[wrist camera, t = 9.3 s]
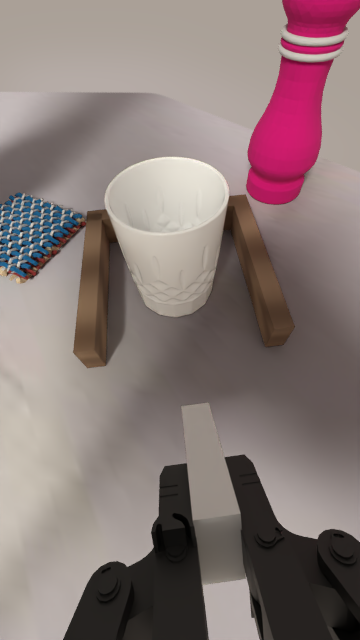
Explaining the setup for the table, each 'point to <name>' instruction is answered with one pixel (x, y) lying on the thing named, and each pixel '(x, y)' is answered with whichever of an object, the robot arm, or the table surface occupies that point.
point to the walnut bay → (252, 259)
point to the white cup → (170, 229)
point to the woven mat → (32, 234)
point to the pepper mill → (297, 98)
